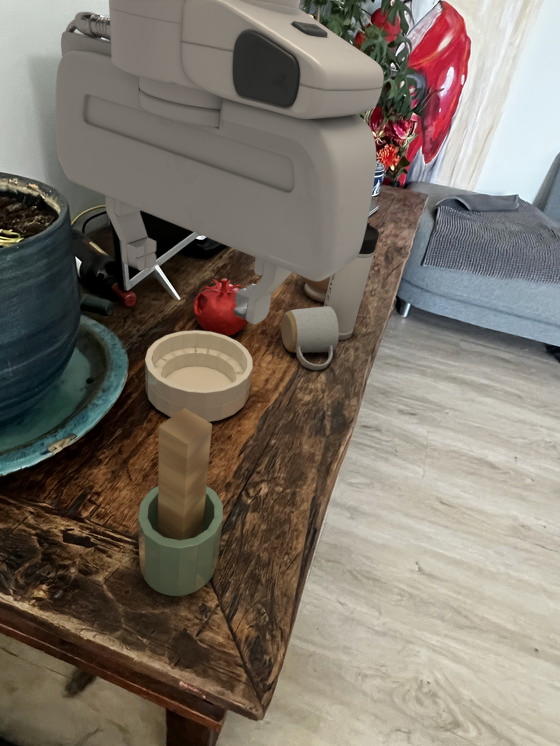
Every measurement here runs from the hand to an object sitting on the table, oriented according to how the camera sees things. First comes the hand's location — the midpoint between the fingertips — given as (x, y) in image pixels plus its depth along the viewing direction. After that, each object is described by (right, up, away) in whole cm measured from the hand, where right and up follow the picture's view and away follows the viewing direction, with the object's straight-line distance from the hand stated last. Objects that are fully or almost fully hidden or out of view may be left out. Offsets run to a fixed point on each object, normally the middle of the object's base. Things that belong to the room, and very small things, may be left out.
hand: (192, 290), depth 32 cm
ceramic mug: (+11, -2, +52) cm, 54 cm away
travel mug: (+16, +2, +60) cm, 62 cm away
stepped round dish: (-6, -8, +40) cm, 41 cm away
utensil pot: (-5, -25, +18) cm, 31 cm away
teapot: (+14, +11, +71) cm, 73 cm away
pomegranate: (-5, +3, +55) cm, 56 cm away
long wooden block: (-4, -24, +17) cm, 30 cm away
